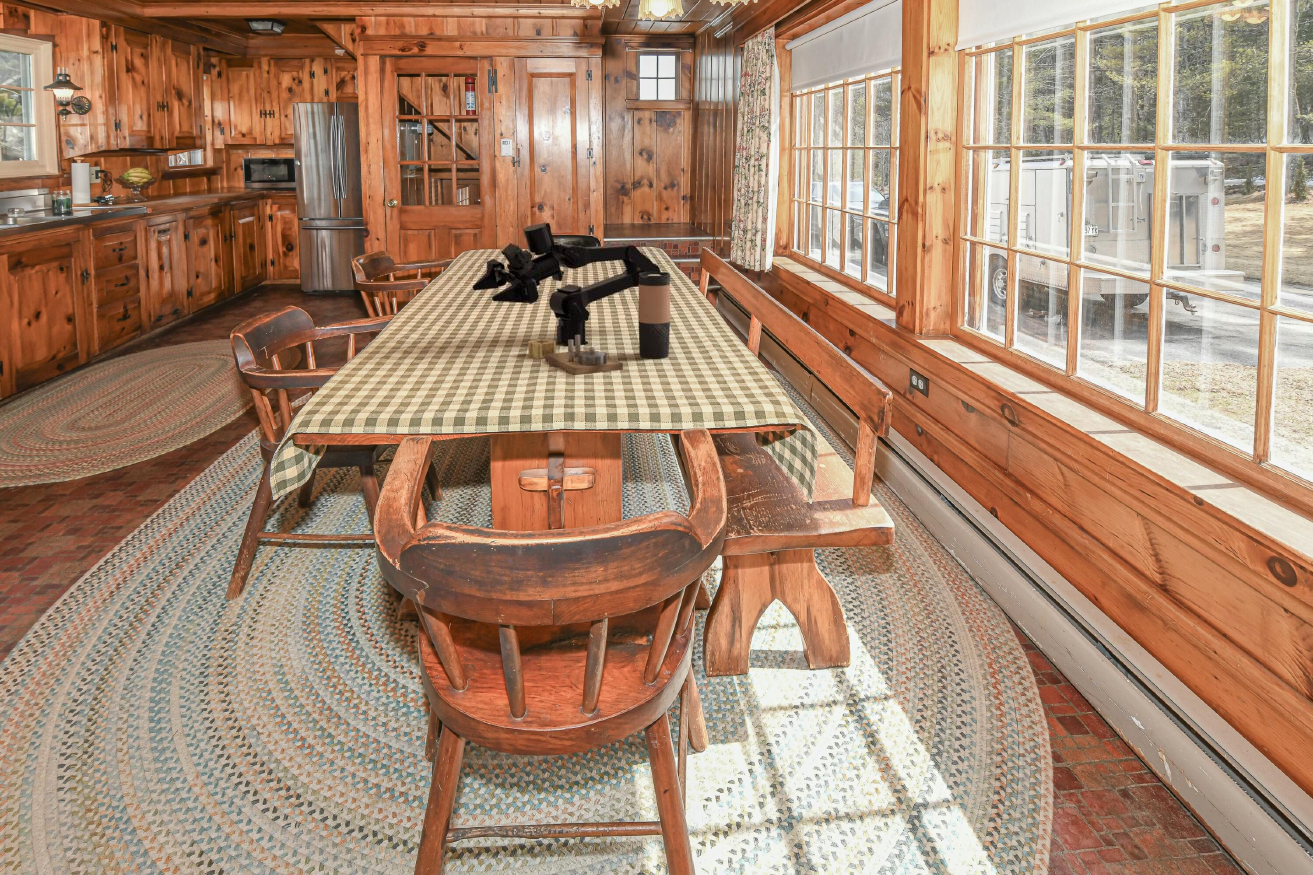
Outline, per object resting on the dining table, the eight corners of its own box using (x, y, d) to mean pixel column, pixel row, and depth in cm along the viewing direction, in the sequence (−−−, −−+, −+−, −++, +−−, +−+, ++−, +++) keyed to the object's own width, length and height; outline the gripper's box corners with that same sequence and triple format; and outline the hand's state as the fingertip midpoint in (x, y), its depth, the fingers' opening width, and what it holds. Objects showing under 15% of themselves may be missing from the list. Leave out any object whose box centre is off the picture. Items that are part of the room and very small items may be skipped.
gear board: (590, 355, 234) (590, 329, 232) (622, 369, 220) (622, 341, 218) (545, 360, 228) (544, 333, 227) (575, 375, 214) (574, 346, 212)
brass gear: (549, 352, 238) (549, 338, 237) (560, 357, 233) (560, 342, 232) (524, 354, 235) (523, 340, 234) (534, 359, 229) (534, 345, 228)
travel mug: (669, 352, 238) (669, 271, 232) (670, 359, 231) (671, 275, 225) (638, 352, 238) (638, 271, 232) (638, 359, 230) (638, 275, 225)
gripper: (509, 230, 239) (455, 253, 232) (551, 250, 227) (495, 274, 219) (518, 271, 246) (466, 294, 238) (559, 292, 233) (505, 316, 226)
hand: (482, 293), depth 230 cm, fingers open, 9 cm apart
